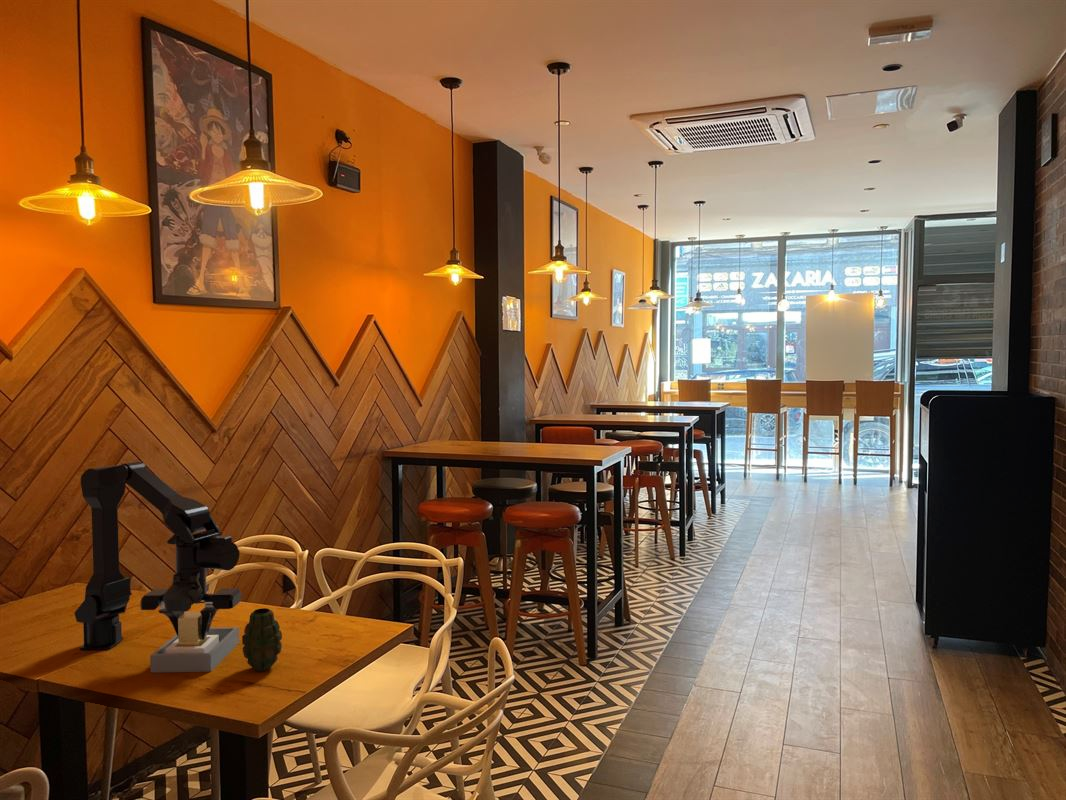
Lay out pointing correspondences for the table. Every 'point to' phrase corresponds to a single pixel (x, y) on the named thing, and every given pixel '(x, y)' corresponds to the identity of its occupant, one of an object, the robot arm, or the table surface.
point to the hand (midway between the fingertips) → (192, 639)
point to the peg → (190, 629)
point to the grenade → (262, 640)
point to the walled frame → (195, 652)
